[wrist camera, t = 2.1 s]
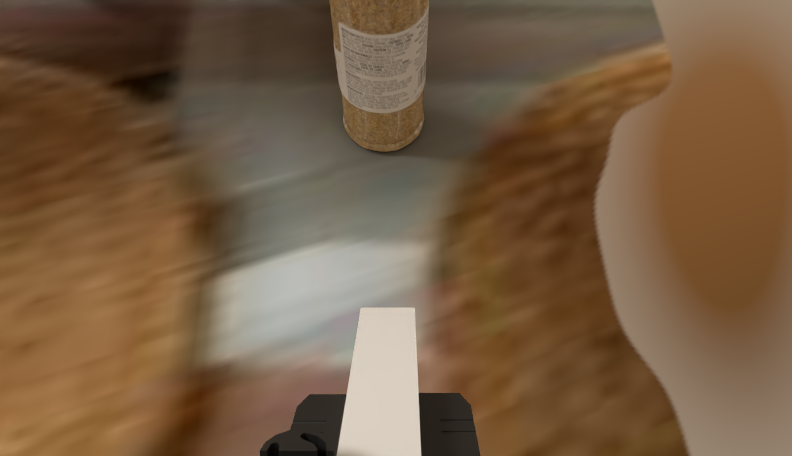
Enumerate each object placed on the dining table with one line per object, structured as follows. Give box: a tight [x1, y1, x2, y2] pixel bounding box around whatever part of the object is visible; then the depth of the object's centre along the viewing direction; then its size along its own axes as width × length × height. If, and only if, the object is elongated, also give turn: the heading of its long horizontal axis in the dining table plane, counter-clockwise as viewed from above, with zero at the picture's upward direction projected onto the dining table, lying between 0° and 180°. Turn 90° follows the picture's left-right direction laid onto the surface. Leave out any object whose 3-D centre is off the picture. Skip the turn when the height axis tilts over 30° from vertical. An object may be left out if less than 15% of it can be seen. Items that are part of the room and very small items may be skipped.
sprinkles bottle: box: [329, 0, 429, 152], centre depth 28 cm, size 5×5×13 cm
